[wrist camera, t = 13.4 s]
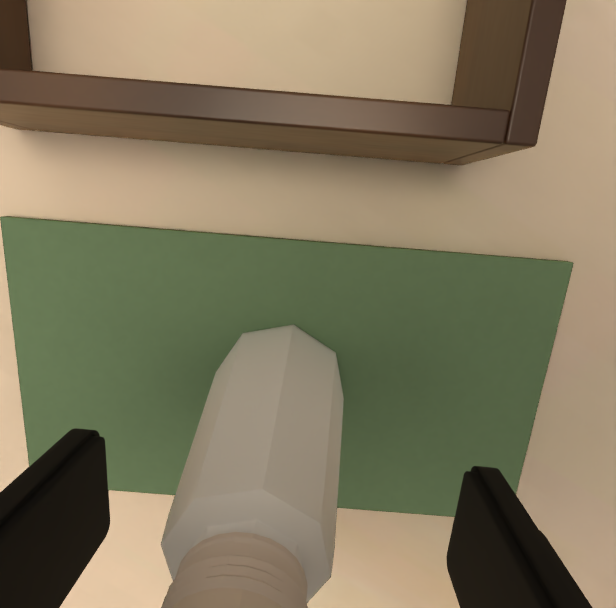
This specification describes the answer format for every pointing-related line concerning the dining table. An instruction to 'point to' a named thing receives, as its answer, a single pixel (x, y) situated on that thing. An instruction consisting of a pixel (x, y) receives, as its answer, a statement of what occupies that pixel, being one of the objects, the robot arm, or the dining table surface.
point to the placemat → (276, 313)
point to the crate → (309, 99)
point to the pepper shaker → (260, 479)
